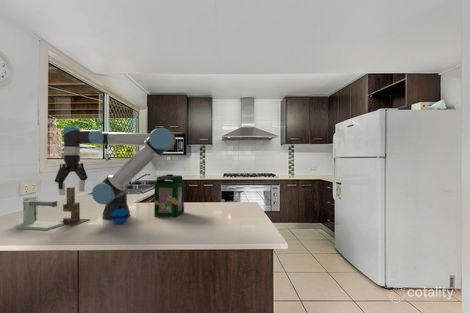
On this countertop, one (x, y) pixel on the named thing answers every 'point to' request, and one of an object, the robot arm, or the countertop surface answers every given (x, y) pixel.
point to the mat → (76, 222)
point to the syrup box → (34, 198)
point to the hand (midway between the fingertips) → (72, 193)
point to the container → (169, 196)
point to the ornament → (119, 215)
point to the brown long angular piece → (71, 206)
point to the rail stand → (30, 217)
